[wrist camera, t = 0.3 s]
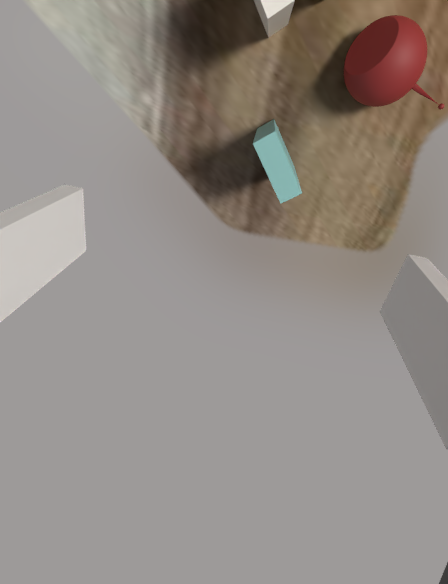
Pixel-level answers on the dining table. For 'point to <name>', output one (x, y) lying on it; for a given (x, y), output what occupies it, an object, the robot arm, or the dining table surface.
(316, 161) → the dining table surface
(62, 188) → the robot arm
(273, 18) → the domino
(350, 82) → the fruit
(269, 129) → the domino
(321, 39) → the dining table surface
